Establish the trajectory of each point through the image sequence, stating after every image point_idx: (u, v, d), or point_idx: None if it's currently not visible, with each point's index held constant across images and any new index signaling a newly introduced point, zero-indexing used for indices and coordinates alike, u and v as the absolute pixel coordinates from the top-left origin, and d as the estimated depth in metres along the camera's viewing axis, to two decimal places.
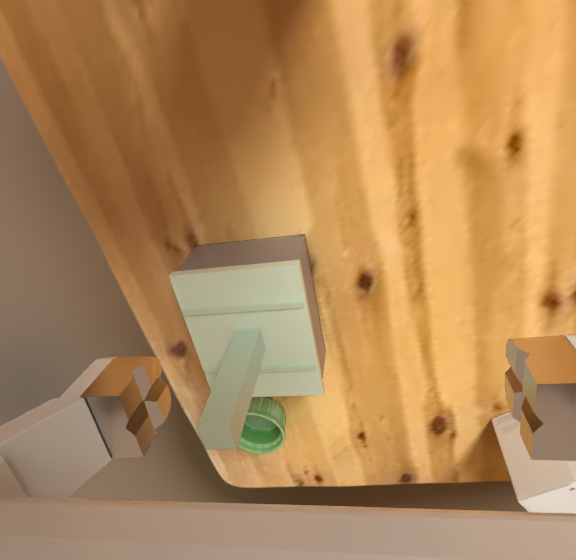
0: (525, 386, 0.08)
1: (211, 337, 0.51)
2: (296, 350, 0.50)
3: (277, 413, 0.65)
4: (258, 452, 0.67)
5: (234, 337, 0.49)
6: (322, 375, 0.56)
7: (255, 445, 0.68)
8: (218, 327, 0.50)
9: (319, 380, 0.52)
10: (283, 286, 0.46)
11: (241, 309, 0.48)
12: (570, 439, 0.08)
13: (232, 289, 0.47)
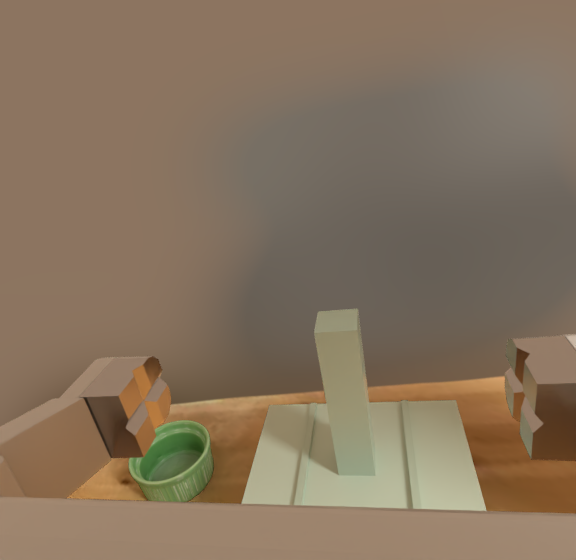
0: (526, 386, 0.08)
1: None
2: None
3: (180, 490, 0.45)
4: None
5: (373, 437, 0.37)
6: None
7: None
8: (379, 430, 0.40)
9: None
10: None
11: (411, 458, 0.36)
12: (570, 439, 0.08)
13: (440, 456, 0.36)
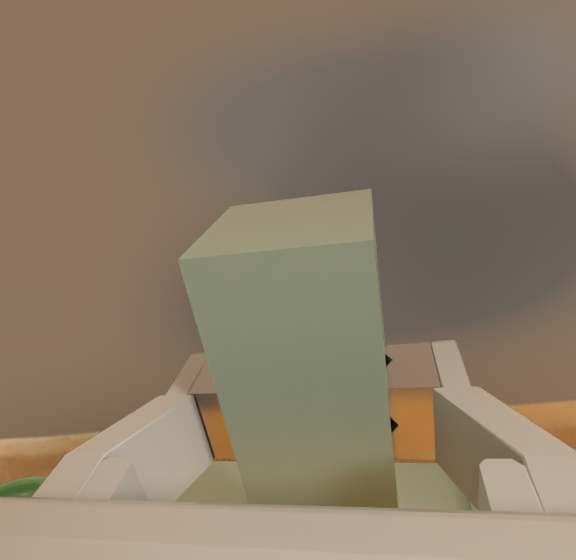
0: None
1: None
2: None
3: None
4: None
5: None
6: None
7: None
8: None
9: None
10: None
11: None
12: (424, 439, 0.08)
13: None
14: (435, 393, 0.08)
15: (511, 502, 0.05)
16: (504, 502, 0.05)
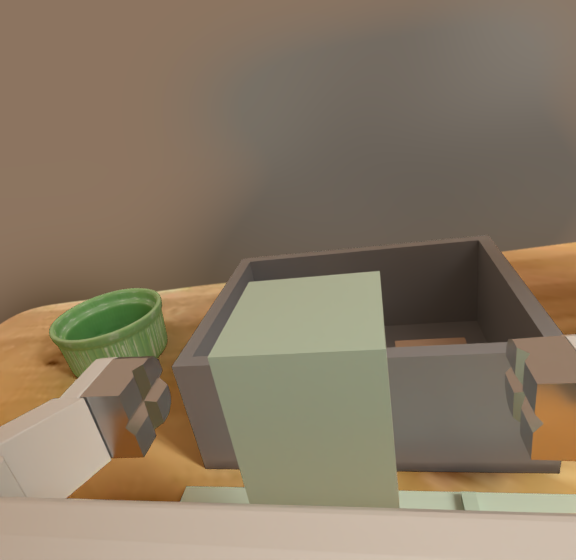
0: (526, 386, 0.08)
1: None
2: None
3: (116, 356, 0.33)
4: (66, 313, 0.37)
5: None
6: (186, 396, 0.22)
7: (79, 318, 0.38)
8: None
9: None
10: None
11: None
12: (570, 439, 0.08)
13: None
14: None
15: None
16: None
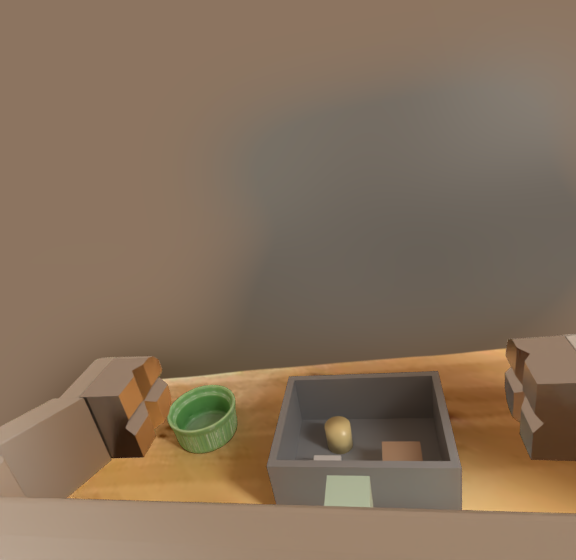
0: (526, 386, 0.08)
1: None
2: None
3: (212, 438, 0.54)
4: (173, 405, 0.58)
5: None
6: (272, 480, 0.43)
7: (180, 407, 0.59)
8: None
9: None
10: None
11: None
12: (570, 439, 0.08)
13: None
14: None
15: None
16: None
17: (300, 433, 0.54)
